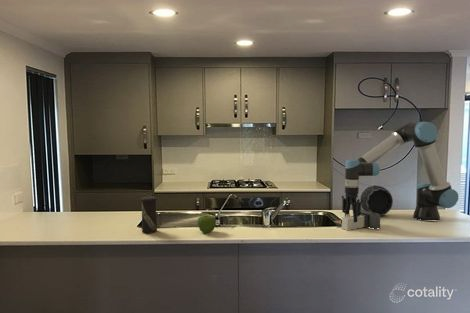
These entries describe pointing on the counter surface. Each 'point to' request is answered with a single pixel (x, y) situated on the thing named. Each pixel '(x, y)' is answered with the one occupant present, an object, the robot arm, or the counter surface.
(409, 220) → the counter surface
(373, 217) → the housing
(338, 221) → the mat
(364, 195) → the dark grey thick wheel
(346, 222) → the plug
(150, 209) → the container
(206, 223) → the apple
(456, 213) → the counter surface
